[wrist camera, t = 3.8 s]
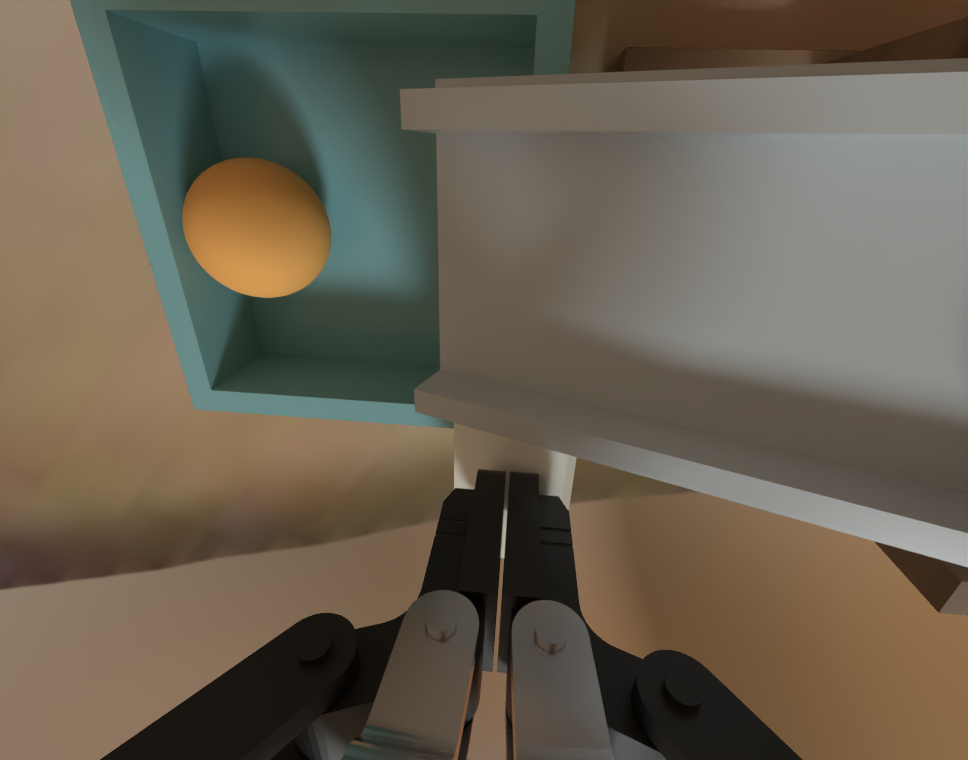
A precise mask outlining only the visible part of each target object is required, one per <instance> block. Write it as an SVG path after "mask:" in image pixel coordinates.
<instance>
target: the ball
mask: <svg viewBox="0 0 968 760" xmlns="http://www.w3.org/2000/svg"><path fill="white" fill-rule="evenodd" d="M182 224H183V230H184V235H185V238H186V241H187V244H188V246H189V248H190V250H191V252H192V254H193V256H194V257H195V259H196V260H197V262H198V263H199V264H200V266H201V267H202V268H203V269H204V270H205V271H206V272H207V273H208V274H209V275H210V276H211V277H213V278H214V279H215V280H217V281H218V282H219V283H221V284H222V285H224V286H226V287H228V288H230V289H231V290H234V291H236V292H239V293H242V294H245V295H249V296H253V297H262V298H274V297H281V296H286V295H289V294H292V293H295V292H297V291H299V290H301V289H303V288H304V287H306V286H307V285H309V284H310V283H311V282H312V281H313V280H314V279H315V278H316V277H317V276H318V275H319V274H320V272H321V271H322V269H323V268H324V266H325V264H326V262H327V259H328V256H329V252H330V248H331V227H330V222H329V219H328V216H327V213H326V210H325V208H324V206H323V204H322V202H321V200H320V199H319V197H318V196H317V194H316V193H315V192H314V190H313V189H312V188H311V187H310V186H309V185H308V184H307V183H306V182H305V181H304V180H303V179H302V178H301V177H299V176H298V175H297V174H295V173H294V172H292V171H291V170H289V169H287V168H286V167H284V166H281V165H279V164H277V163H274V162H272V161H268V160H264V159H259V158H250V157H244V158H234V159H229V160H225V161H222V162H220V163H217V164H215V165H213V166H211V167H210V168H208V169H206V170H205V171H204V172H203V173H202V174H200V175H199V176H198V177H197V179H196V180H195V181H194V182H193V184H192V185H191V187H190V189H189V190H188V192H187V195H186V198H185V201H184V205H183V211H182Z"/></svg>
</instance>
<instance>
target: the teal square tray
mask: <svg viewBox="0 0 968 760" xmlns="http://www.w3.org/2000/svg"><path fill="white" fill-rule="evenodd" d="M70 2H71V6H72V9H73V12H74V15H75V19H76V22H77V25H78V29H79V32H80V35H81V38H82V42H83V45H84V48H85V52H86V55H87V58H88V61H89V65H90V68H91V71H92V75H93V78H94V81H95V84H96V88H97V91H98V94H99V98H100V101H101V104H102V107H103V111H104V114H105V117H106V121H107V124H108V127H109V130H110V134H111V137H112V140H113V144H114V147H115V150H116V153H117V157H118V160H119V163H120V166H121V170H122V173H123V176H124V180H125V183H126V186H127V189H128V193H129V196H130V199H131V203H132V206H133V209H134V212H135V216H136V219H137V222H138V226H139V229H140V232H141V235H142V239H143V242H144V245H145V249H146V252H147V255H148V258H149V262H150V265H151V268H152V272H153V275H154V278H155V281H156V285H157V288H158V291H159V294H160V298H161V301H162V304H163V308H164V311H165V314H166V317H167V321H168V324H169V327H170V331H171V334H172V337H173V340H174V344H175V347H176V350H177V354H178V357H179V360H180V363H181V367H182V370H183V373H184V377H185V380H186V383H187V386H188V390H189V393H190V396H191V400H192V403H193V406H194V409H197V410H211V411H225V412H238V413H252V414H265V415H279V416H293V417H306V418H320V419H333V420H347V421H361V422H374V423H388V424H401V425H415V426H429V427H442V428H454V423H453V422H449V421H446V420H442V419H439V418H435V417H432V416H428V415H424V414H421V413H417V412H415V401H414V389H415V388H416V387H418V386H419V385H420V384H422V383H423V382H424V381H426V380H427V379H428V378H430V377H431V376H432V375H434V374H435V373H436V372H438V371H439V370H440V327H439V267H438V208H437V148H436V133H429V132H420V131H411V130H402V125H401V104H400V89H422V88H435V79H451V78H476V77H501V76H527V75H552V74H569V67H570V57H571V46H572V36H573V25H574V15H575V4H576V0H70ZM244 157H250V158H259V159H264V160H268V161H272V162H274V163H277V164H279V165H281V166H284V167H286V168H287V169H289V170H291V171H292V172H294V173H295V174H297V175H298V176H299V177H301V178H302V179H303V180H304V181H305V182H306V183H307V184H308V185H309V186H310V187H311V188H312V189H313V190H314V192H315V193H316V194H317V196H318V197H319V199H320V200H321V202H322V204H323V206H324V208H325V210H326V213H327V216H328V219H329V222H330V227H331V248H330V252H329V256H328V259H327V262H326V264H325V266H324V268H323V269H322V271H321V272H320V274H319V275H318V276H317V277H316V278H315V279H314V280H313V281H312V282H311V283H310V284H309V285H307V286H306V287H304V288H303V289H301V290H299V291H297V292H295V293H292V294H289V295H286V296H281V297H274V298H262V297H253V296H249V295H245V294H242V293H239V292H236V291H234V290H231V289H230V288H228V287H226V286H224V285H222V284H221V283H219V282H218V281H217V280H215V279H214V278H213V277H211V276H210V275H209V274H208V273H207V272H206V271H205V270H204V269H203V268H202V267H201V266H200V264H199V263H198V262H197V260H196V259H195V257H194V256H193V254H192V252H191V250H190V248H189V246H188V244H187V241H186V238H185V235H184V230H183V224H182V211H183V205H184V201H185V198H186V195H187V192H188V190H189V189H190V187H191V185H192V184H193V182H194V181H195V180H196V179H197V177H198V176H199V175H200V174H202V173H203V172H204V171H205V170H206V169H208V168H210V167H211V166H213V165H215V164H217V163H220V162H222V161H225V160H229V159H234V158H244Z"/></svg>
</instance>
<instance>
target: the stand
mask: <svg viewBox="0 0 968 760" xmlns="http://www.w3.org/2000/svg"><path fill="white" fill-rule="evenodd" d="M959 58H968V17H967V18H964V19H961V20H958V21H955V22H952V23H948V24H945V25H942V26H939V27H936V28H933V29H930V30H927V31H923V32H920V33H917V34H914V35H911V36H908V37H905V38H902V39H898V40H895V41H892V42H889V43H886V44H883V45H880V46H877V47H873V48H870V49H867V50H864V51H834V50H771V49H708V48H645V47H627V48H626V49H625V50H624V51H623V52H622V53H621V54H620V60H619V68H618V72H628V71H654V70H679V69H705V68H730V67H755V66H781V65H806V64H832V63H857V62H882V61H908V60H933V59H959ZM875 543H876V544H877V545H878V546H879V547H880V548H881V549H882V550H883V552H884V553H885V554H886V555H887V556H888V557H889V558H890V559H891V560H892V562H893V563H894V564H895V565H896V566H897V567H898V568H899V569H900V570H901V571H902V573H903V574H904V575H905V576H906V577H907V578H908V579H909V580H910V581H911V582H912V584H913V585H914V586H915V587H916V588H917V589H918V590H919V591H920V593H921V594H922V595H924V597H925V598H926V599H927V600H928V601H929V603H930V604H931V605H932V606H933V607H934V608H935V609H936V610H937V611H938V612H939V613H947V614H957V615H968V567H965V566H961V565H957V564H954V563H950V562H947V561H943V560H940V559H936V558H933V557H929V556H925V555H922V554H918V553H915V552H911V551H908V550H904V549H901V548H897V547H893V546H890V545H886V544H883V543H879V542H876V541H875Z"/></svg>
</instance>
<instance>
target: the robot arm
mask: <svg viewBox="0 0 968 760" xmlns="http://www.w3.org/2000/svg"><path fill="white" fill-rule="evenodd" d="M505 483H506V471H496V470H483V469H478V471H477V477H476V483H475V489H463V488H455V489H454V490H453V491H452V492H451V494H450V495H449V496H448V497H447V498H446V499H445V500H444V502H443V506H442V510H441V514H440V518H439V522H438V526H437V530H436V536H435V538H434V542H433V546H432V550H431V554H430V557H429V562H428V566H427V569H426V573H425V577H424V582H423V585H422V589H421V592H420V595H419V596H418V599H417V600H416V601H414V602H413V604H412V605H411V606H410V607H409V609H408V610H407V611H406V612H405V613H404V614H402V615H401V616H399V617H397V618H396V619H393V620H391V621H388V622H385V623H381V624H377V625H372V626H367V627H363V628H358V629H354V627H353V625H352V624H351V622H350V621H349V620H347V619H346V618H344V617H343V616H341V615H338V614H333V613H320V614H315V615H312V616H309V617H307V618H305V619H302V620H301V621H299V622H298V623H296V624H294V625H293V626H292V627H290V628H289V629H287V630H286V631H284V632H283V633H281V634H280V635H279V636H277V637H276V638H274V639H273V640H271V641H270V642H268V643H267V644H266V645H264V646H263V647H261V648H260V649H258V650H257V651H256V652H254V653H253V654H251V655H250V656H248V657H247V658H246V659H244V660H243V661H241V662H240V663H238V664H237V665H235V666H234V667H233V668H231V669H230V670H229V671H227V672H225V673H224V674H222V675H221V676H220V677H218V678H217V679H215V680H214V681H213V682H211V683H210V684H208V685H207V686H206V687H204V688H202V689H201V690H199V691H198V692H197V693H195V694H194V695H192V696H191V697H190V698H188V699H187V700H185V701H184V702H182V703H181V704H179V705H178V706H177V707H175V708H174V709H172V710H171V711H169V712H168V713H166V714H165V715H164V716H162V717H161V718H159V719H158V720H156V721H155V722H153V723H152V724H151V725H149V726H148V727H146V728H145V729H144V730H142V731H141V732H139V733H138V734H136V735H135V736H134V737H132V738H130V739H129V740H128V741H127V742H125V743H123V744H122V745H120V746H119V747H118V748H116V749H115V750H113V751H112V752H110V753H109V754H107V755H106V756H105V757H103V758H102V759H100V760H468V759H469V753H470V747H471V741H472V734H473V729H474V722H475V717H476V711H477V708H478V705H479V700H480V690H481V680H482V671H490V672H492V669H493V655H494V641H495V627H496V614H497V600H498V586H499V572H500V559H501V545H502V531H503V515H504V499H505ZM497 672H502V673H507V682H506V703H505V716H504V729H505V760H802V759H801V758H800V757H799V756H798V755H797V754H796V753H795V752H794V751H793V750H792V749H791V748H790V747H789V746H787V745H786V744H785V743H784V742H783V741H782V740H781V739H780V738H779V737H778V736H777V735H776V734H775V733H774V732H773V731H772V730H771V729H770V728H768V727H767V725H765V724H764V723H763V722H762V721H761V720H760V719H759V718H758V717H757V716H756V715H755V714H754V713H753V712H752V711H751V710H750V709H749V708H748V707H747V706H746V705H744V704H743V703H742V702H741V701H740V700H739V699H738V698H737V697H736V696H735V695H734V694H733V693H732V692H731V691H730V690H729V689H728V688H727V687H726V686H725V685H723V683H721V682H720V681H719V680H718V679H717V678H716V677H715V676H714V675H713V674H712V673H711V672H710V671H709V670H708V669H707V668H705V667H704V666H703V665H702V664H701V663H699V662H698V661H697V660H695V659H694V658H692V657H690V656H688V655H686V654H683V653H680V652H677V651H673V650H658V651H655V652H652V653H650V654H649V655H647V656H646V657H645V658H644V659H641V658H639V657H636V656H634V655H632V654H629V653H627V652H625V651H622V650H620V649H618V648H616V647H614V646H611V645H610V644H608V643H606V642H605V641H603V640H602V639H601V638H600V637H598V636H597V635H596V634H595V633H594V632H593V631H592V630H591V629H590V627H589V626H588V624H587V623H586V622H585V619H584V618H583V615H582V613H581V610H580V605H579V598H578V589H577V579H576V571H575V561H574V553H573V548H572V535H571V526H570V518H569V511H568V510H567V508H566V507H565V505H564V504H563V502H562V501H561V499H560V498H559V496H549V495H539V475H538V474H535V473H523V472H510V479H509V494H508V509H507V524H506V540H505V555H504V571H503V588H502V603H501V620H500V635H499V651H498V666H497Z"/></svg>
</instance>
